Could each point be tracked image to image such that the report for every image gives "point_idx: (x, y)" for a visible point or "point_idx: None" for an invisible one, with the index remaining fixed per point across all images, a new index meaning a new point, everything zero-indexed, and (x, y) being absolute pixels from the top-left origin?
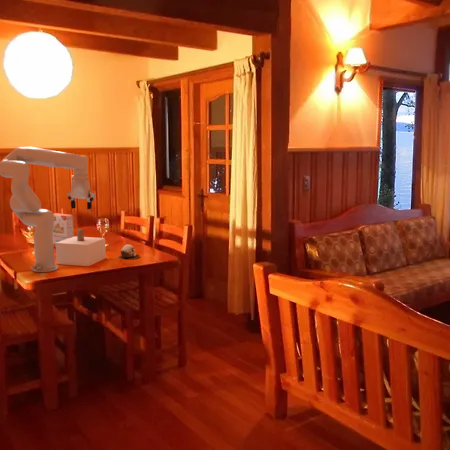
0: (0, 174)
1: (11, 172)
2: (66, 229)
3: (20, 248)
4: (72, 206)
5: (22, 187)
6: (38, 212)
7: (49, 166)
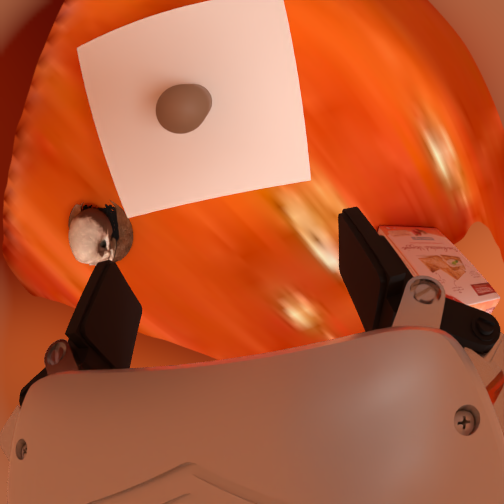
0: None
1: None
2: (416, 268)
3: (492, 182)
4: (352, 225)
5: None
6: None
7: None
